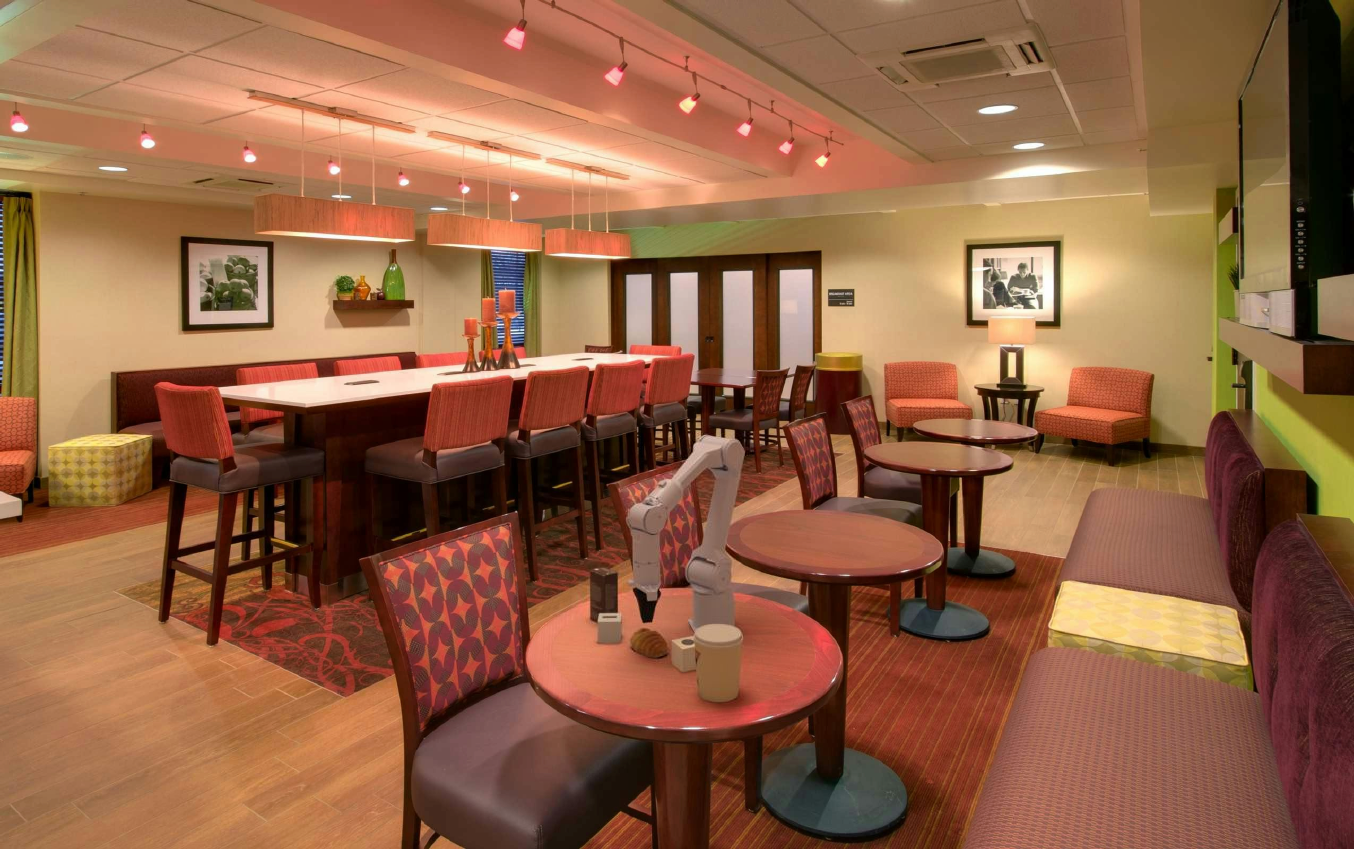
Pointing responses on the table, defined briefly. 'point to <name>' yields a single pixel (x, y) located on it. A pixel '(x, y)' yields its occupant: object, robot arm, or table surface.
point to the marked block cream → (684, 654)
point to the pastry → (649, 643)
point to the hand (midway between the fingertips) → (647, 621)
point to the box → (603, 592)
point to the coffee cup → (718, 661)
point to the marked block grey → (609, 628)
